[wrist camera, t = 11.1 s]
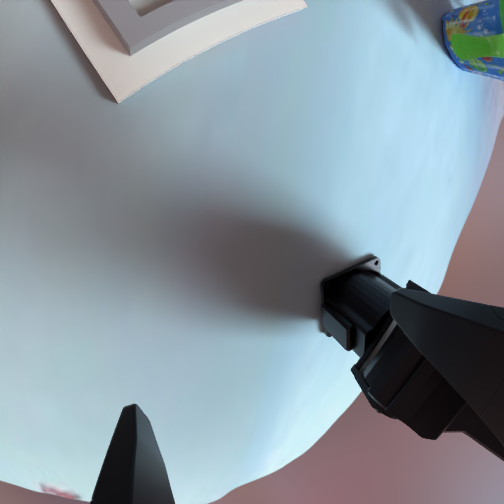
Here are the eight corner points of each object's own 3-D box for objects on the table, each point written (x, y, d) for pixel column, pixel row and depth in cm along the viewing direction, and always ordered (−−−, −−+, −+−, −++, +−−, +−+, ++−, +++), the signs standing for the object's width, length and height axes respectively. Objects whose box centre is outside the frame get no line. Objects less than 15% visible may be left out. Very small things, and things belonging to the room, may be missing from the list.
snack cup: (433, 91, 23) (522, 101, 14) (404, -7, 18) (491, -22, 9) (490, 79, 26) (554, 88, 17) (471, 6, 21) (536, 5, 12)
